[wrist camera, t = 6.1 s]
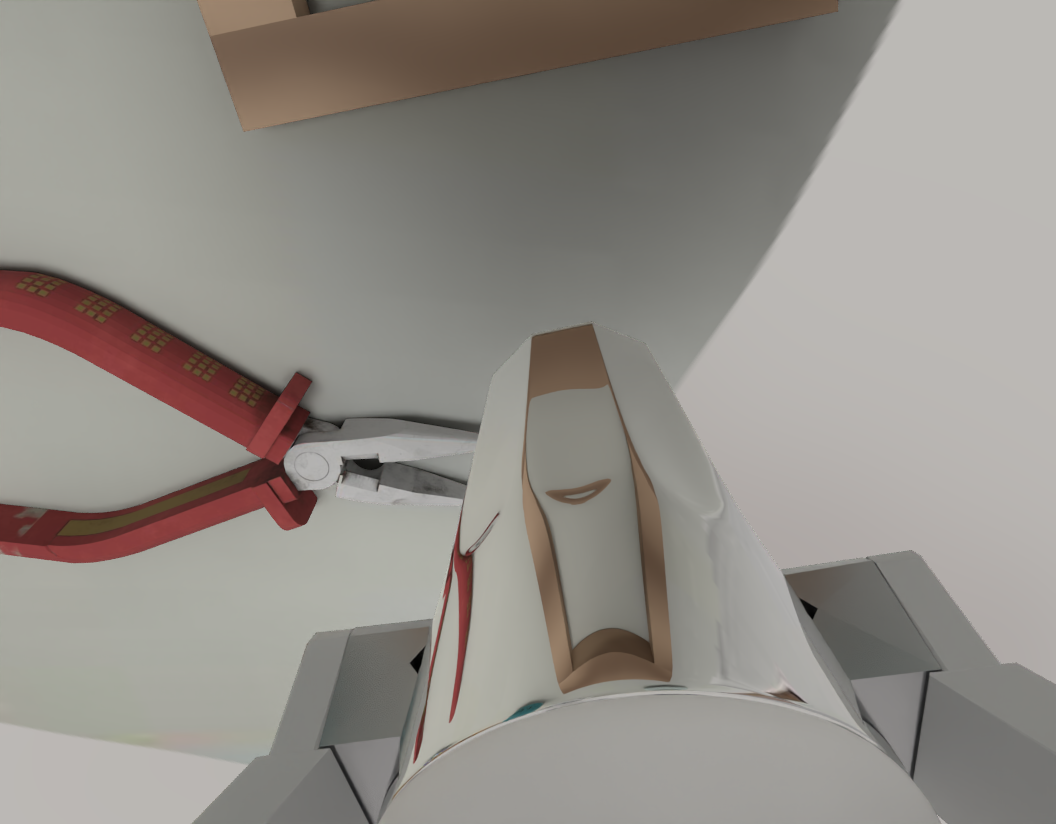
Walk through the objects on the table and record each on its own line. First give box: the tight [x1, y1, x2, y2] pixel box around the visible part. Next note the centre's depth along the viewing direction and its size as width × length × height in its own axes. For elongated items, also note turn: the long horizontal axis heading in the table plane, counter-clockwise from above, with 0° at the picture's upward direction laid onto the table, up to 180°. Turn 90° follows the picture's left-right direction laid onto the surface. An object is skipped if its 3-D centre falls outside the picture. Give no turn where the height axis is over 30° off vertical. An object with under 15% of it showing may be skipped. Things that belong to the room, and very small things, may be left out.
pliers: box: [0, 270, 479, 563], centre depth 27 cm, size 12×21×3 cm, turn 83°
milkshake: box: [376, 321, 941, 824], centre depth 8 cm, size 4×5×10 cm
